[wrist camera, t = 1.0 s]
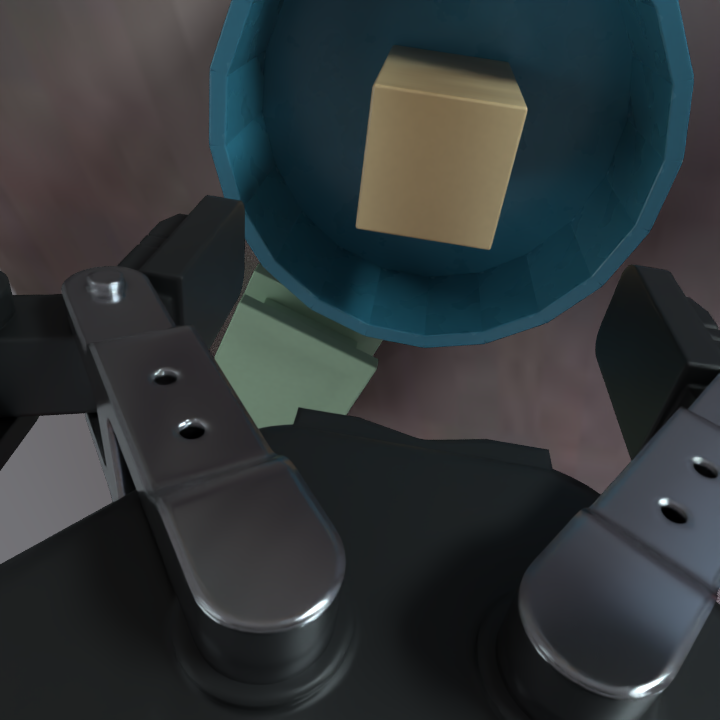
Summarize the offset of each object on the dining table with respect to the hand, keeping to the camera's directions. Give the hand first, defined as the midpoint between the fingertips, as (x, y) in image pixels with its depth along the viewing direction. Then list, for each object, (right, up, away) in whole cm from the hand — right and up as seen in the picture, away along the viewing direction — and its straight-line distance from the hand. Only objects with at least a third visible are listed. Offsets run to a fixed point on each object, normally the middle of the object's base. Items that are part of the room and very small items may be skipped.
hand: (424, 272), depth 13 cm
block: (+2, +8, +11) cm, 14 cm away
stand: (-5, -1, +19) cm, 19 cm away
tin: (+2, +8, +11) cm, 14 cm away
